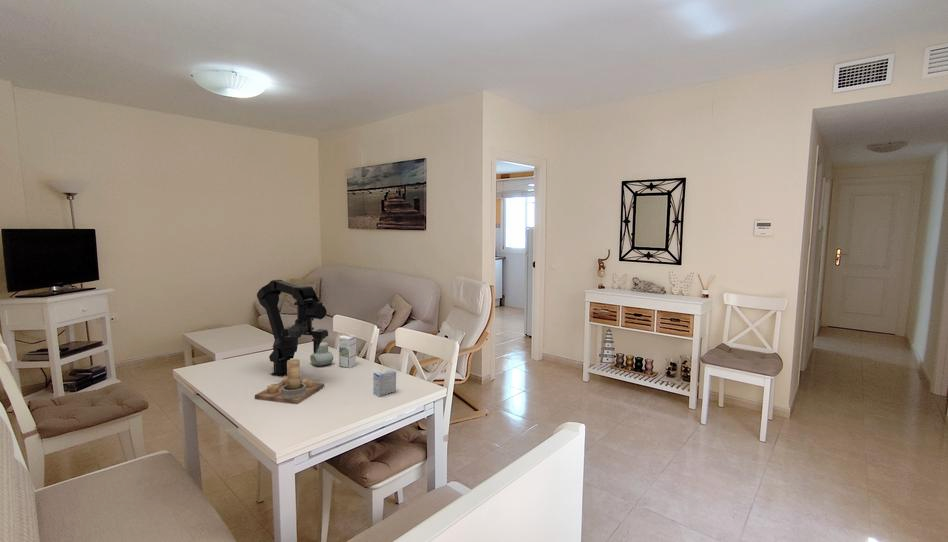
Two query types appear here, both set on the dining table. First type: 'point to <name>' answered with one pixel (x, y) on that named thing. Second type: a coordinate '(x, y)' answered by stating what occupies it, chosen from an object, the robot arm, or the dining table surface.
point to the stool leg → (293, 374)
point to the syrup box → (347, 351)
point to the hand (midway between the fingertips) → (305, 352)
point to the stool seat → (289, 391)
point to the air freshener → (322, 355)
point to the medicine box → (384, 382)
